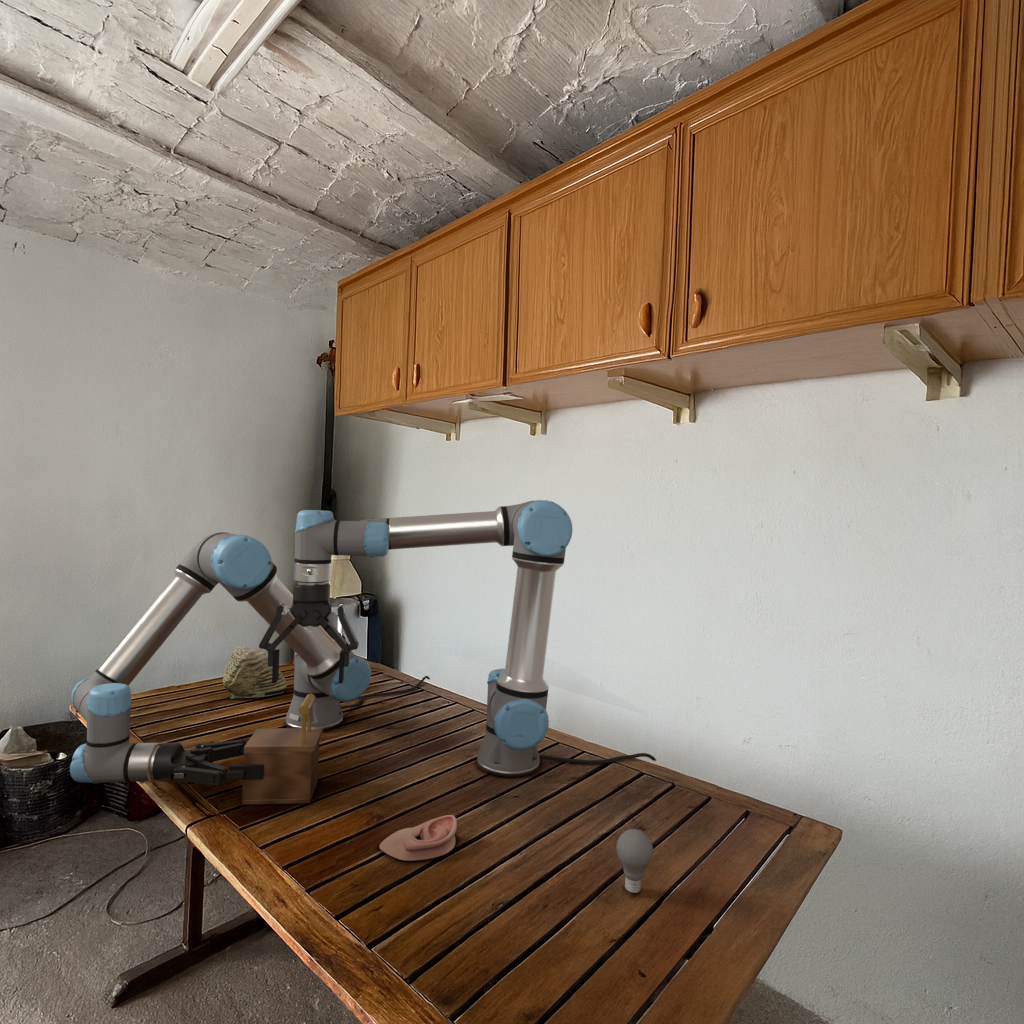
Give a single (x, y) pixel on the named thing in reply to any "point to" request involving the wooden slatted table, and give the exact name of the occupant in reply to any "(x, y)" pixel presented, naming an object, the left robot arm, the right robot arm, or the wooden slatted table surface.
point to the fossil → (251, 675)
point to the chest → (282, 777)
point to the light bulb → (634, 857)
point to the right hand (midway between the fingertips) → (308, 681)
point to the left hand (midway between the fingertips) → (269, 760)
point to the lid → (287, 735)
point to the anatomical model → (422, 840)
